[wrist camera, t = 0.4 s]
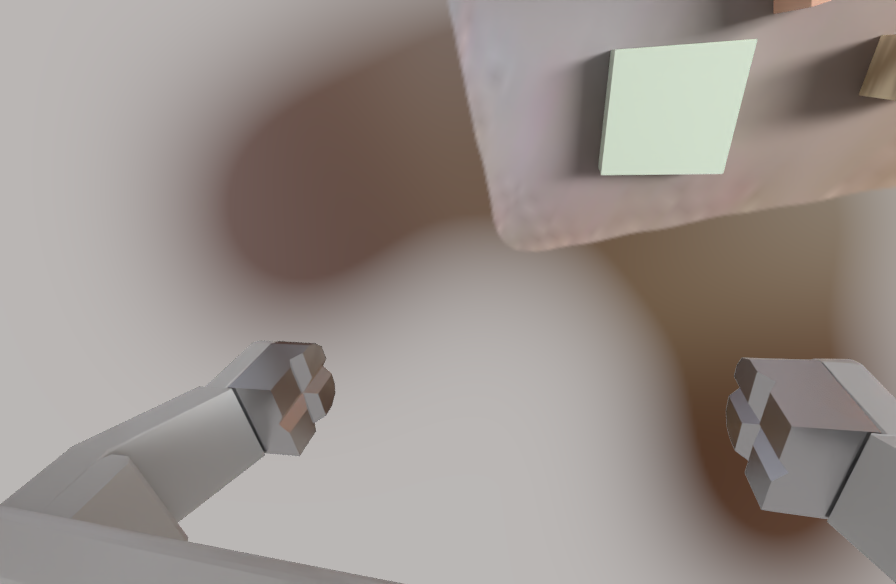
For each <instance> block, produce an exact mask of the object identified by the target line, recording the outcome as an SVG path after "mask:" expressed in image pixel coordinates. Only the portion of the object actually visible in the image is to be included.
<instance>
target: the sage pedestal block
mask: <svg viewBox="0 0 896 584" xmlns="http://www.w3.org/2000/svg"><path fill="white" fill-rule="evenodd" d="M756 43H757V39H748V40H735V41H722V42H709V43H696V44H683V45H670V46H657V47H644V48H631V49H618V50H611V53H610V62H609V72H608V81H607V90H606V99H605V108H604V118H603V127H602V136H601V145H600V155H599V164H598V168H599V171H600V174H601V175H668V174H723V172H724V168H725V164H726V160H727V157H728V153H729V149H730V145H731V141H732V137H733V133H734V129H735V125H736V121H737V117H738V114H739V110H740V106H741V102H742V98H743V94H744V90H745V86H746V82H747V78H748V74H749V71H750V67H751V63H752V59H753V55H754V51H755V47H756Z"/></svg>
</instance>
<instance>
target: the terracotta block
mask: <svg viewBox="0 0 896 584" xmlns="http://www.w3.org/2000/svg"><path fill="white" fill-rule="evenodd" d="M828 1H831V0H774V4H773V14H776V13H782V12H787V11H792V10H798V9H803V8H809V7H813V6H816V5H819V4H822V3H825V2H828Z"/></svg>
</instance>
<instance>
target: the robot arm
mask: <svg viewBox="0 0 896 584" xmlns="http://www.w3.org/2000/svg"><path fill="white" fill-rule="evenodd" d="M325 360H326V356H325V354H324V351H323V349H322V346H320V345H318V344H316V343H302V342H285V341H257V342H253V343H252V344H250V345H249V346H248V348H246V349H245V350H244V351H243V352H242V353H241V354H240V355H239V356H238V357H237V358H235V359H234V360H233V361H232V362H231V363H230V364H229V365H228V366H227V367H226V368H225V369H224V370H223V371H222V372H221V373H219V374H218V375H217V376H216V377H215V378H214V379H213V380H212V381H211V382H210V383H209V384H208V385H206V386H205V387H201V386H199V387H197V388H195V389H193V390H191V391H189V392H186V393H184V394H182V395H180V396H178V397H176V398H174V399H172V400H169V401H167V402H165V403H163V404H161V405H159V406H157V407H155V408H152V409H150V410H148V411H146V412H144V413H142V414H140V415H138V416H136V417H133V418H132V419H129V420H127V421H125V422H123V423H121V424H119V425H117V426H114V427H112V428H110V429H108V430H106V431H104V432H102V433H100V434H97V435H95V436H93V437H91V438H89V439H87V440H85V441H83V442H81V443H78V444H76V445H74V446H72V447H71V448H69V449H68V450H67V451H66V452H65V453H63V454H62V455H61V456H60V457H58V458H57V459H56V460H55V461H54V462H52V463H51V464H50V465H48V466H47V467H46V468H45V469H43V470H42V471H41V472H40V473H39V474H37V475H36V476H35V477H34V478H32V479H31V480H30V481H29V482H27V483H26V484H25V485H24V486H22V487H21V488H20V489H19V490H17V491H16V492H15V493H14V494H13V495H11V496H10V497H9V498H8V499H7V500H5V501H4V502H3V503H1V504H0V584H402V583H397V582H392V581H387V580H382V579H377V578H372V577H367V576H361V575H356V574H351V573H346V572H341V571H336V570H331V569H325V568H320V567H315V566H310V565H305V564H300V563H295V562H290V561H285V560H279V559H274V558H269V557H264V556H259V555H253V554H249V553H244V552H238V551H233V550H228V549H223V548H218V547H213V546H208V545H203V544H198V543H192V542H188V537H187V535H186V534H185V532H184V531H183V530H182V528H181V527H180V526H179V524H178V522H179V521H180V520H182V519H183V518H184V517H186V516H187V515H188V514H189V513H191V512H192V511H193V510H195V509H196V508H197V507H199V506H200V505H201V504H202V503H204V502H205V501H206V500H207V499H209V498H210V497H211V496H213V495H214V494H215V493H217V492H218V491H219V490H221V489H222V488H223V487H224V486H225V485H227V484H228V483H230V482H231V481H232V480H233V479H235V478H236V477H237V476H239V475H240V474H241V473H243V472H244V471H245V470H246V469H248V468H249V467H250V466H251V465H253V464H254V463H255V462H257V461H258V460H259V459H261V458H262V457H263V456H264V455H265V454H264V453H270V454H282V455H294V456H300V455H301V453H302V452H303V450H304V449H305V447H306V446H307V444H308V443H309V441H310V439H311V438H312V437H313V435H314V433H315V432H316V428H315V422H317V421H318V420H320V419H321V418H323V417H324V416H326V415H327V413H328V411H329V410H330V408H331V406H332V403H333V400H334V396H335V383H334V379H333V376H332V374H331V373H330V372H329V371H328V370H327V369H326V368H324V366H323V365H324V363H325ZM734 377H735V379H736V381H737V383H738V385H739V387H740V388H739V389H738V390H736V391H735V392H734V393H732V394H731V395H729V398H728V403H727V408H726V423H727V424H726V425H727V429H728V433H729V437H730V440H731V442H732V445H733V447H734V449H735V451H736V452H738V453H739V454H740V455H742V456H743V457H744V458H745V459H747V460H748V464H747V467H746V470H745V475H746V477H747V479H748V481H749V483H750V486H751V488H752V490H753V492H754V494H755V497H756V499H757V501H758V503H759V505H760V508H761V510H767V511H774V512H781V513H788V514H795V515H803V516H809V517H817V518H824V519H828V521H827V522H828V523H829V524H830V525H831V526H832V527H834V528H835V529H836V530H837V531H838V532H839V533H840V534H841V535H842V536H844V537H845V538H846V539H847V540H848V541H849V542H850V543H851V544H852V545H854V546H855V547H856V548H857V549H858V550H859V551H860V552H861V553H862V554H864V555H865V556H866V557H867V558H868V559H869V560H870V561H871V562H873V563H874V564H875V565H876V566H877V567H878V568H879V569H880V570H881V571H883V572H884V573H885V574H886V575H887V576H888V577H889V578H891V580H893V581H894V582H895V583H896V399H895V398H894V397H893V396H892V395H891V394H890V393H889V392H888V391H887V390H886V389H885V388H884V387H883V386H882V384H881V383H880V382H879V381H878V380H877V379H876V378H875V377H874V376H873V375H872V374H871V373H870V372H869V371H868V370H867V369H866V368H865V367H864V366H863V365H862V364H860V363H859V362H856V361H854V360H852V359H812V360H802V359H768V358H741V360H740V361H739V362H738V364H737V366H736V370H735V374H734Z"/></svg>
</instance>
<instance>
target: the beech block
mask: <svg viewBox="0 0 896 584" xmlns="http://www.w3.org/2000/svg"><path fill="white" fill-rule="evenodd" d="M859 96H867V97H874V98H881V99H888V100H895V101H896V34H895V35H881V37H880V40H879V42H878V45H877V48H876V50H875V53H874V56H873V58H872V61H871V63H870V66H869V69H868V71H867V74H866V77H865V79H864V82H863V84H862V87H861V90H860V92H859Z"/></svg>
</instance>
